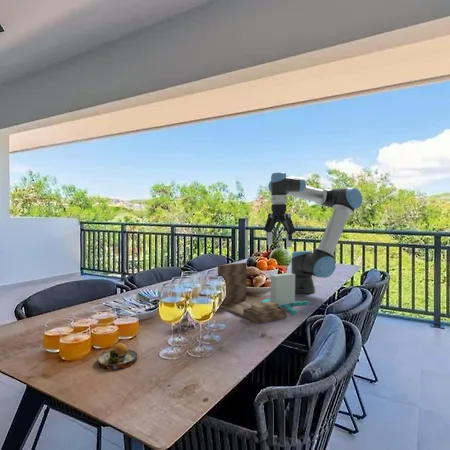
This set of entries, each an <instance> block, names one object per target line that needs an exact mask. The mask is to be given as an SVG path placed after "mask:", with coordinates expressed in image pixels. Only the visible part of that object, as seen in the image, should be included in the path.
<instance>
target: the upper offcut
mask: <svg viewBox="0 0 450 450" xmlns="http://www.w3.org/2000/svg"><path fill="white" fill-rule="evenodd" d="M277 309H278V303H275V302H272V301H269V302H263V303H261V302H259V303H255V304H252V305H251V311H254V312H256V313H262V312H267V311H272V310H277Z"/></svg>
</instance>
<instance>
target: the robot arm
mask: <svg viewBox="0 0 450 450" xmlns="http://www.w3.org/2000/svg"><path fill="white" fill-rule="evenodd" d="M267 188H268V190H269V192H271V193H270V194H271V197H270V199H271V200H270V203H271V206H270V207H271V210H270V211H271V212H270V213H267V219H266V222H265V224H264V227H263V231H264V232H266V238H267V246H272V245H273V229H274V227H275V226H276V224H277V223H280V224H281V225H282V226H283V228H284V231H286V236H285V237H286V238H285V239H286V242H285V243H286V247H285V248H292V241H293V234H294V233H296V232H297V231H296V228H295V225H294V223H293V221H292V217H291V213H286V212H287V204H286V203H287V196H289V197H295V198H298V199H302V200H306V201H311V202H314V203H315V204H316V205H321V206H323V207H326V208H330V209H332V210H333V211H332V214H331V216H330V219H329V221H328V223H327V226H326V228H325V231H324V232H323V235H322V238H321V240H320V243H319V245H318V247H316V248H314V249H313V250H302V251H301V250H300V251H299V250H298V251H293V252H292V253H291V273H292V274H295V294H313V293H315V292H316V288H315V287H316V286H315V285H314V280H313V277H316V278H324V279H325V278H329V277H331V276H332V275H333V274H334V272H335V270H336V266H337V265H336V261H335V259H336V258H335V254H334V253H335V251H336V248H337V246H338V243H339V241H340V239H341V236H342V233H343V231H344V228H345V227H346V224H347V221H348V219H349V216H352V215H353V214H354V212H355V210H358V209H359V208H361V207H362V204H363V196H362V193H361V191H360V190H359V189H358V188H356V187H345V188H344V187H343V188H329V189H328V188H323V187H321V188H315V187H312V186H307V181H306V179H304V178H303V177H299V176H298V177H295V176H293V177H289V176H287V173H286V172H283V171H282V172H280V171H279V172H273V173H271V176H270V181H269V182H268V187H267Z"/></svg>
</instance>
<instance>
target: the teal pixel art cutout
mask: <svg viewBox="0 0 450 450" xmlns="http://www.w3.org/2000/svg"><path fill="white" fill-rule="evenodd" d="M269 301H271V298H265V299H263V300H262V301H260V303H263V302H269ZM309 305H310V301H309V300H304V301H299V300H298V301H295V303H290V304H284V305H278V306H280V307H283V308H286V313H290V315H297V312H298V310H297V309H294V307H296V306H301V307H302V306H309ZM291 306H292V307H291Z"/></svg>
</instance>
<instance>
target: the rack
mask: <svg viewBox="0 0 450 450" xmlns="http://www.w3.org/2000/svg"><path fill="white" fill-rule="evenodd" d="M218 276H222V277H223V278H224V280H225V283H226V297H225V299H224V301H223V302H222V304H221V305H220V307H219V308H221V309H223V310H225V311H227V312H229V313H231V314H234V315H236V316H238V317H241V318H243V319H244V320H247V321H249V322H251V323H254V324H256V325H259V324H264V323H268V322H272V321H277V320H282V319H286V318H287V310H286V308H283V307H280V306H278V309H277V310H272V311H267V312H262V313H255V312H253V311H251V305H252V304H256V303H254V302H253V301H249V300H247V262H239V263H227V264H218V265H217V277H218Z"/></svg>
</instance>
